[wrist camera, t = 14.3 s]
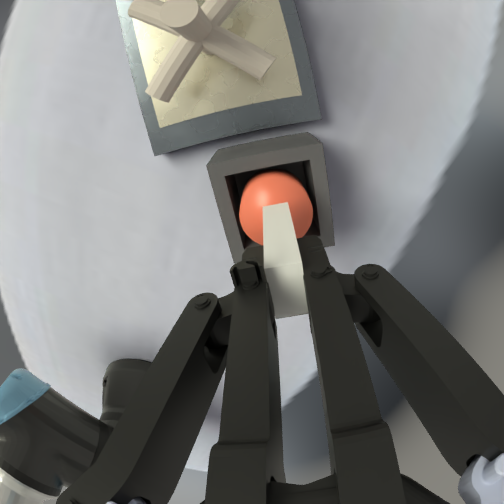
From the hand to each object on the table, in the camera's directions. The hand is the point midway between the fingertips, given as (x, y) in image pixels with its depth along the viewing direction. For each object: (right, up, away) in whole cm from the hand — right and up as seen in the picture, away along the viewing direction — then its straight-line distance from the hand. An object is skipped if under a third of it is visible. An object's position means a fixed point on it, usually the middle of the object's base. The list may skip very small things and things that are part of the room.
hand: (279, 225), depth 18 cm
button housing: (0, +4, +8) cm, 9 cm away
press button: (0, +2, +4) cm, 5 cm away
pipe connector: (-5, +14, +1) cm, 15 cm away
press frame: (-5, +16, +1) cm, 17 cm away
